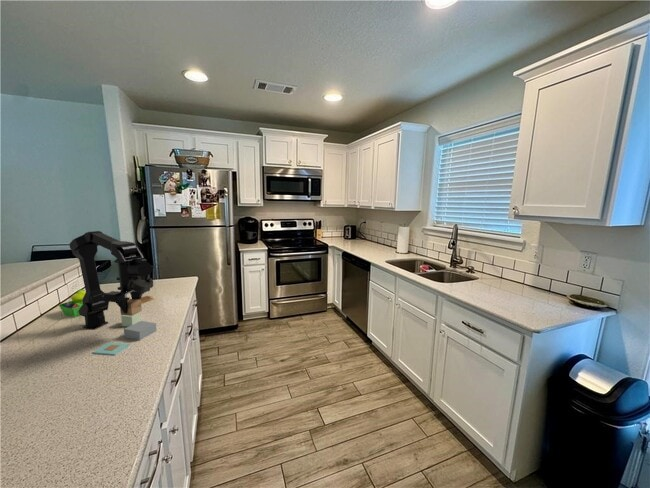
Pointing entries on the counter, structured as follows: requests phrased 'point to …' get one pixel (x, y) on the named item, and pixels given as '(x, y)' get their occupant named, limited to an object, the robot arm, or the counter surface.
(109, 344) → the card
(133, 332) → the slate block
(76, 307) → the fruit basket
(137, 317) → the sage cube
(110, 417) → the counter surface
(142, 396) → the counter surface
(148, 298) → the shard
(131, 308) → the walnut cube
